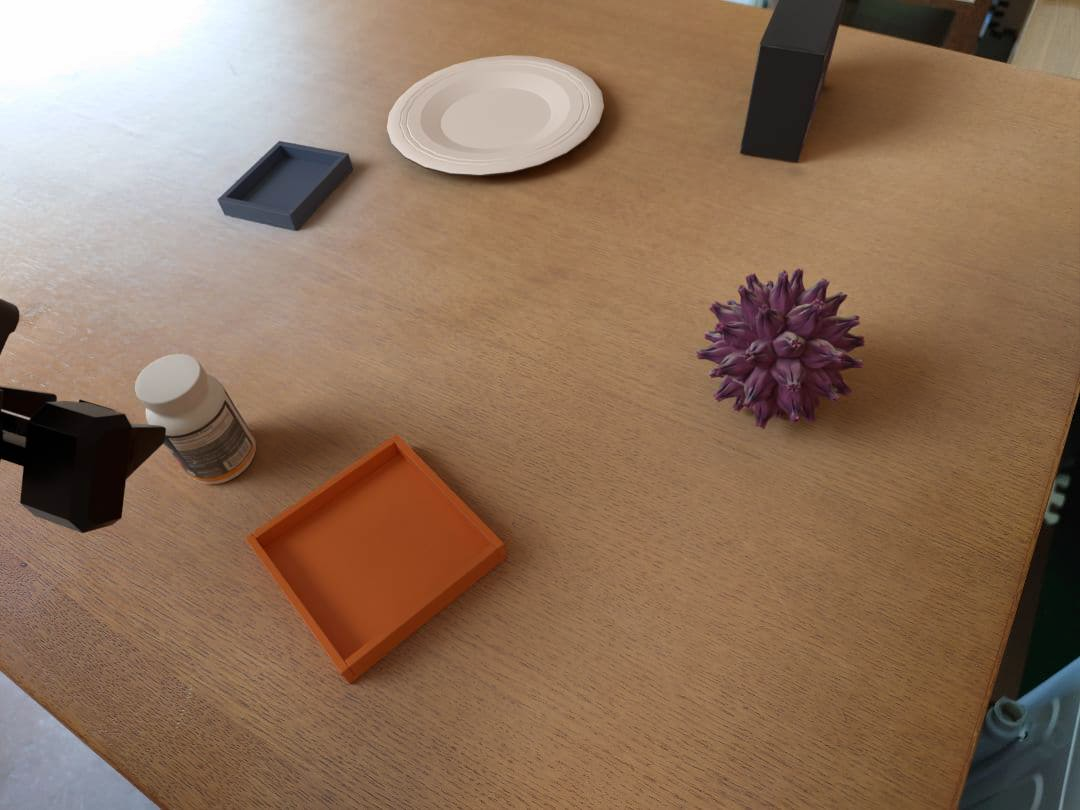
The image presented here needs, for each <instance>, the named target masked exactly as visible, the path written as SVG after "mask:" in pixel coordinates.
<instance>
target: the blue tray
mask: <svg viewBox="0 0 1080 810" xmlns="http://www.w3.org/2000/svg"><path fill="white" fill-rule="evenodd" d="M353 170H354V166H353V162H352V160H351V156H350V154H349V153H348V152H342V151H337V150H331V149H327V148H326V149H325V148H321V147H315V146H310V145H306V144H305V145H304V144H298V143H295V142H294V143H293V142H287V141H283V140H279V141H277V142H276V143H275V144H274V145H273V146H272V147H271V148H270V149H269V150H268V151H267V152H266V153H264V154H263V156H262V157H260V158H259V159H258V160H257V161H256V162H255V163H254V164H253V165H252V166H251V167H250V168H249V169H248V170H247V171H246V172H244V173H243V174H242V175H241V176H240V178H238V179H237V180H236V181H235V182H234V183H233V184H232V185H231V186H230V187H229V188H228V189H226V191H224V193H222V194H221V196H219V197H218V198H217V203H218V204H219V206H220V208H221V210H222V213H223V215H224V216H226V217H227V216H228V217H232V218H236V219H242V220H246V221H250V222H254V223H258V224H263V225H267V226H272V227H277V228H281V229H285V230H288V231H289V230H290V231H294V232H297V231H298V230H299V229H300V227H302V226H303V224H304V223H305V222H307V220H308V219H309V218H310V217H311V216H312V215H313V214H314V212H316V210H317V209H318V208H319V207H320V206H321V205H322V204H323V202H324V201H325V200H327V198H328V197H329V196H330V195H331V194H332V193H333V192H334V191H335V190H336V189H337V188H338V187H339V185H340V184H341V183H342V182H343V181H344V180H345V179H346V178H347V177H348V176H349V174H350V173H352V171H353Z"/></svg>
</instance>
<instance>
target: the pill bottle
mask: <svg viewBox="0 0 1080 810" xmlns="http://www.w3.org/2000/svg"><path fill="white" fill-rule="evenodd" d="M135 380H136V381H135V383H134V390H135V395H136V397H137V398H138V399H139V401H140V402H141V403H142V405H143V406H144V407H145V417H146V421H147V425H158V426H163V427H165V428H166V434H165V441H164V443H163V446H164V447H165V448H166V449H167V450H168V452H169V453H170V454H171V455H172V457H173V458H174V459H175V461H176V462H177V463H178V465H180V467H181V468H182V470H183V471H184V472H185V473H186V474H187V475H188V476H189V477H190V478H191V479H192V480H194V481H195V482H197V483H200V484H204V485H218V484H222V483H226V482H228V481H231V480H232V479H235V478H236V477H237V476H239V475H241V474H242V472H244V471H245V470H246V469H247V468H248V467H249V466H250V464H251V463H252V461H253V459H254V457H255V454H256V451H257V446H256V444H257V443H256V439H255V437H254V435H253V433H252V430H251V429H250V428H249V426H248V424H247V423H246V421H245V420H244V418H243V416H242V415H241V413H240V411H239V410H238V408H237V407H236V405H235V403H234V401H233V400H232V398H231V397H230V395H229V394H228V391H227V390H226V388H225V387H224V386H223V384H222V382H220V381H219V379H217V378H216V377H214V376H212V375H210V374H208V373H207V371H206V370H205V369H204V367H203V366H202V364H201V363H200V362H199V360H198V359H197V358H196V357H194V356H192V355H190V354H186V353H172V354H168V355H164V356H161V357H159V358H156V359H155V360H154V361H152V362H151V363H148V364H147V365H146V366H145V367H144V368H143V369H142V370H141V371H140V373H139V374H138V376H137V377H136V379H135Z"/></svg>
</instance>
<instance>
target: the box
mask: <svg viewBox="0 0 1080 810" xmlns="http://www.w3.org/2000/svg"><path fill="white" fill-rule="evenodd" d="M845 4H846V0H778V1H777V3H776V5H775V7H774V10H773V12H772V14H771V17H770V18H769V21H768V24H767V26H766V28H765V31H764V33H763V34H762V36H761V37H762V38H761V40H760V42H759V44H758V49H757V55H756V64H755V68H754V73H753V80H752V85H751V89H750V95H749V102H748V108H747V113H746V118H745V122H744V129H743V133H742V138H741V141H740V148H739V154H742V155H746V156H747V155H748V156H755V157H762V158H767V159H774V160H781V161H785V162H791V163H798V162H799V160H800V158H801V154H802V151H803V148H804V145H805V143H806V139H807V135H808V132H809V130H810V126H811V124H812V120H813V117H814V114H815V112H816V108H817V106H818V103H819V99H820V95H821V93H822V89H823V87H824V83H825V80H826V77H827V73H828V69H829V65H830V62H831V59H832V55H833V51H834V47H835V43H836V39H837V37H838V36H837V35H838V32H839V27H840V24H841V20H842V16H843V12H844V8H845Z"/></svg>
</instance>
